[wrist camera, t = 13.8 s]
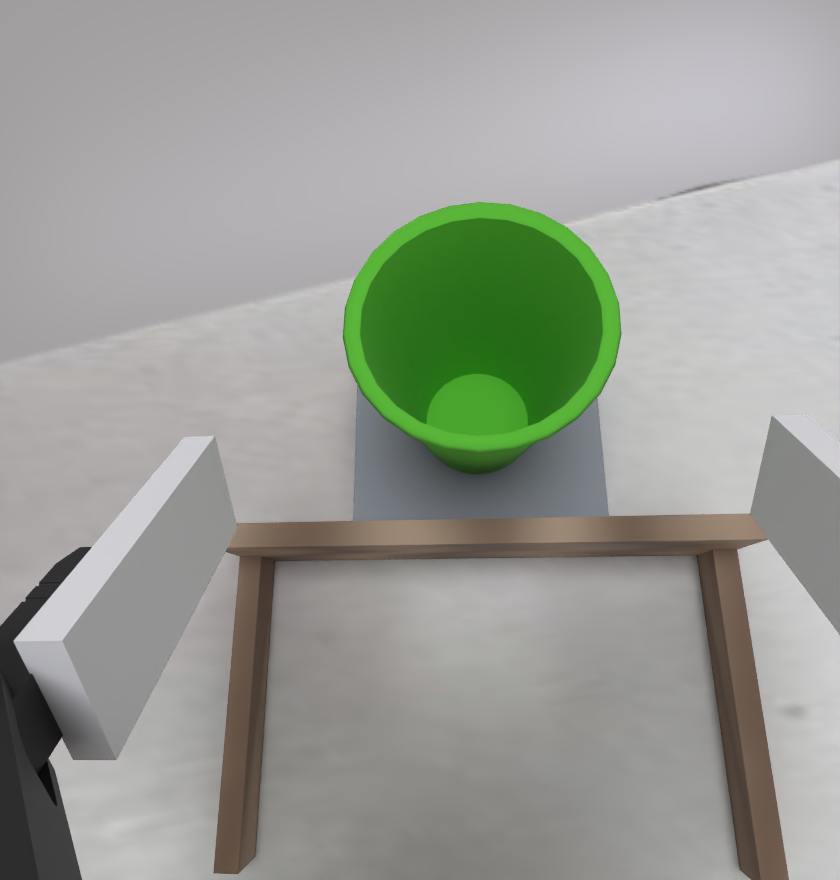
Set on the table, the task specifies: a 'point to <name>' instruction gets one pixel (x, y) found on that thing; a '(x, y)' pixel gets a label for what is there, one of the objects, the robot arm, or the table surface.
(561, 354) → the cup
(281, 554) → the stall
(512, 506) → the mat
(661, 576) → the table surface
